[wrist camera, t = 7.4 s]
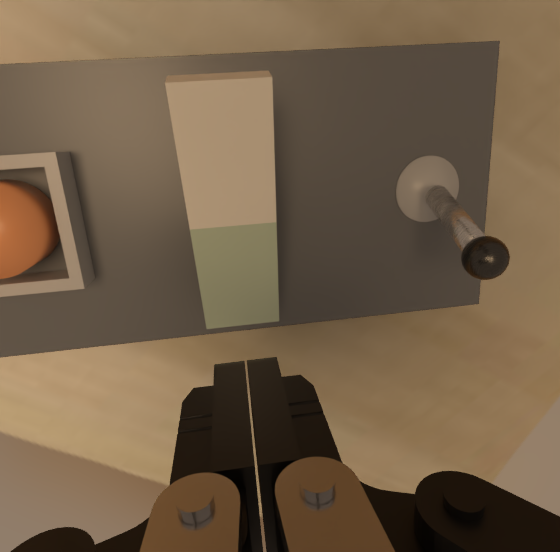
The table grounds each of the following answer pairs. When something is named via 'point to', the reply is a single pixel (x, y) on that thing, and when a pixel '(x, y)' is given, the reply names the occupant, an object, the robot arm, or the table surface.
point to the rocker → (229, 191)
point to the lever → (468, 236)
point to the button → (24, 227)
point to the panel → (288, 182)
